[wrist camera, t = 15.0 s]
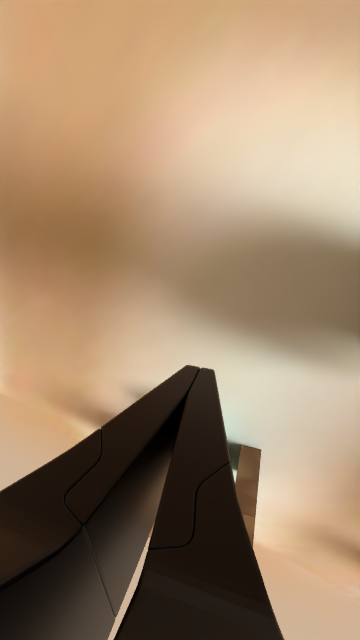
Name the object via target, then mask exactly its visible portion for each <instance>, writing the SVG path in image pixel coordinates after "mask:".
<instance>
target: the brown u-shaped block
mask: <svg viewBox="0 0 360 640" xmlns="http://www.w3.org/2000/svg"><path fill="white" fill-rule="evenodd" d="M260 458H261V450H259V449H255V448H251V447H247V446H243V445H241V451H240V457H239V464H238V470H237V476H236V483H235V486H236V491H237V495H238V500H239V504H240V507H241V511H242V514H243V518H244V522H245V525H246V528H247V532H248V535H249V538H250V541H251V544H252V547H253V538H254V526H255V515H256V503H257V492H258V481H259V469H260ZM154 523H155V522H154ZM153 527H154V524H153ZM153 527H152V529H151V532H150V534H149V537H150V538H151V535H152V531H153Z"/></svg>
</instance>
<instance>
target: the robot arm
mask: <svg viewBox="0 0 360 640" xmlns="http://www.w3.org/2000/svg"><path fill="white" fill-rule="evenodd" d="M154 522H155V523H154ZM153 524H154V527H153ZM152 527H153V531H152V535H151V539H150V543H149V547H148V552H147V555H146V559H145V563H144V566H143V569H142V572H141V576H140V579H139V582H138V585H137V587H136V590H135V592H134V595H133V597H132V599H131V601H130V604H129V606H128V608H127V611H126V613H125V615H124V617H123V620H122V622H121V624H120V627H119V629H118V631H117V634H116V636H115V638H114V640H284V638H283V635H282V633H281V630H280V628H279V625H278V623H277V620H276V617H275V615H274V612H273V609H272V606H271V603H270V600H269V598H268V595H267V591H266V588H265V585H264V582H263V579H262V576H261V572H260V569H259V566H258V563H257V560H256V557H255V554H254V550H253V547H252V544H251V541H250V538H249V535H248V532H247V528H246V525H245V522H244V518H243V514H242V511H241V507H240V504H239V500H238V495H237V491H236V486H235V482H234V477H233V471H232V466H231V461H230V455H229V449H228V444H227V438H226V433H225V427H224V421H223V416H222V410H221V405H220V399H219V394H218V388H217V382H216V377H215V372H214V370H212V369H207V368H201V369H200V368H199V367H197V366H191V365H186V366H185V367H183V368H182V369H181V370H179V371H178V372H176V373H175V374H174V375H172V376H171V377H170V378H168V379H167V380H165V381H164V382H163V383H161V384H160V385H158V386H157V387H156V388H154V389H153V390H152V391H150V392H149V393H147V394H146V395H145V396H143V397H142V398H141V399H139V400H138V401H136V402H135V403H134V404H132V405H131V406H130V407H128V408H127V409H125V410H124V411H123V412H121V413H120V414H119V415H117V416H116V417H114V418H113V419H112V420H110V421H109V422H107V423H106V424H105V425H103V426H102V427H101V429H98V430H96V431H95V432H94V433H92V434H91V435H89V436H88V437H87V438H85V439H84V440H82V441H81V442H79V443H78V444H76V445H75V446H74V447H72V448H71V449H69V450H68V451H66V452H64V453H63V454H61V455H59V456H58V457H56V458H55V459H53V460H52V461H50V462H48V463H47V464H45V465H43V466H42V467H40V468H38V469H37V470H35V471H33V472H32V473H30V474H28V475H27V476H25V477H23V478H22V479H20V480H18V481H17V482H15V483H13V484H12V485H10V486H8V487H6V488H5V489H3V490H1V491H0V640H107V639H108V637H109V635H110V632H111V630H112V627H113V625H114V622H115V617H116V616H117V614H118V612H119V609H120V607H121V604H122V602H123V599H124V597H125V594H126V592H127V589H128V587H129V584H130V582H131V579H132V577H133V574H134V572H135V569H136V567H137V564H138V562H139V559H140V557H141V554H142V552H143V549H144V547H145V544H146V542H147V539H148V537H149V534H150V532H151V529H152Z"/></svg>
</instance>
